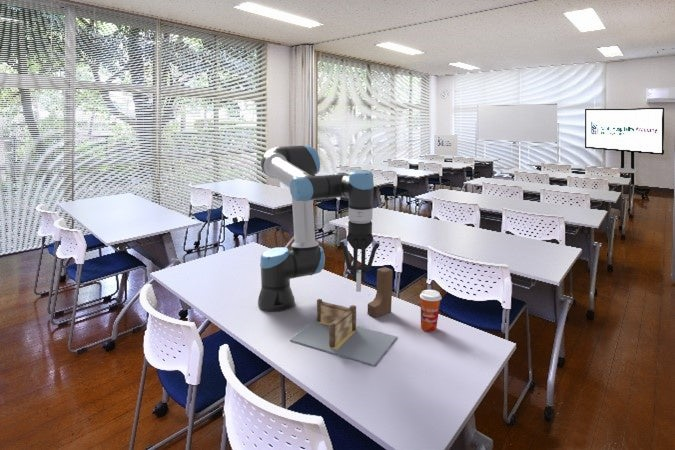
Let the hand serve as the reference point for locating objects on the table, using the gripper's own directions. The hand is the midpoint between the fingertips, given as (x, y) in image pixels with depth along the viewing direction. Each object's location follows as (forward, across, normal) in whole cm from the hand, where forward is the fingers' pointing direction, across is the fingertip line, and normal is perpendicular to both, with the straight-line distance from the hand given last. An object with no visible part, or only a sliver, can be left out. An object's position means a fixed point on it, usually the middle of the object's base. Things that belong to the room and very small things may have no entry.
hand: (358, 289), depth 136 cm
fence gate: (+20, -6, +2) cm, 21 cm away
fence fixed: (+20, -9, +12) cm, 25 cm away
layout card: (+21, -5, +3) cm, 21 cm away
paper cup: (+21, +25, +15) cm, 36 cm away
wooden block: (+21, +7, +26) cm, 34 cm away
